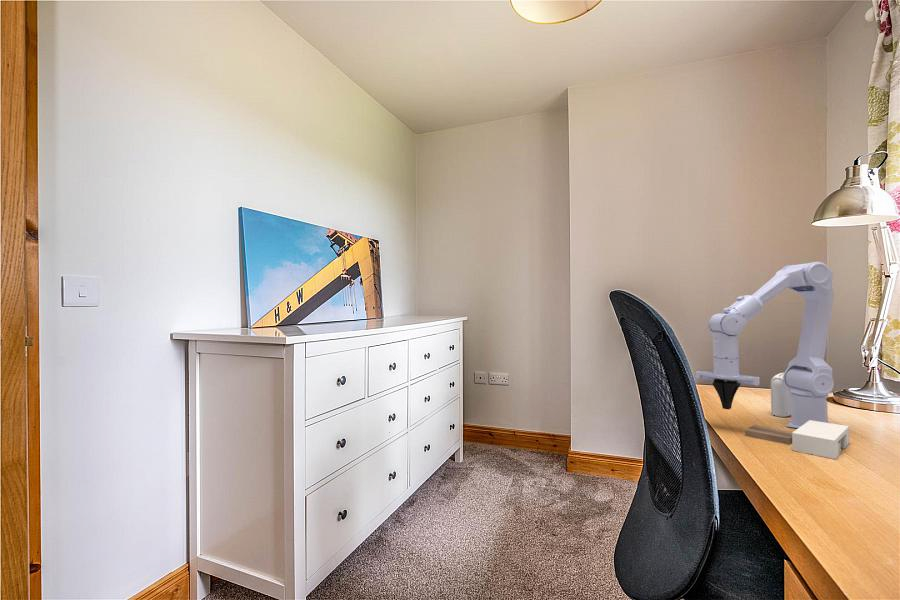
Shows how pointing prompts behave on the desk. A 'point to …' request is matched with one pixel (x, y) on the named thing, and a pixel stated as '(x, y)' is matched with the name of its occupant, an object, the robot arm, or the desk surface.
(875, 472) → the desk surface
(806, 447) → the white shelf
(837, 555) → the desk surface
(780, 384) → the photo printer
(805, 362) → the robot arm
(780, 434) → the walnut panel
